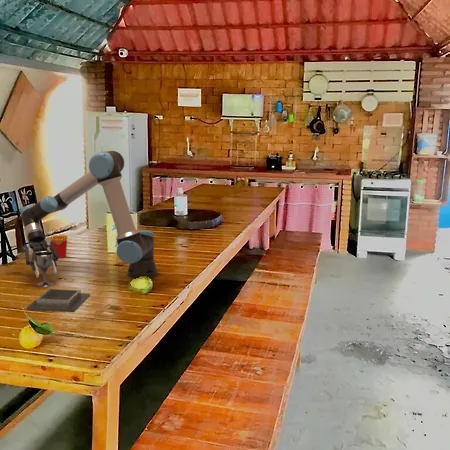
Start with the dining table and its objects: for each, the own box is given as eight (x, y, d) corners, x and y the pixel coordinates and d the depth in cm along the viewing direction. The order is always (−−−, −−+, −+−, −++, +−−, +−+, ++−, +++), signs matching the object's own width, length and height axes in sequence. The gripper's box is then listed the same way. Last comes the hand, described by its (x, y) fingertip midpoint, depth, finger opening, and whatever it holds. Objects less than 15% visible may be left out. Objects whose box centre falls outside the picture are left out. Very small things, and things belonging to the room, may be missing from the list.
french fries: (50, 258, 289) (49, 235, 286) (52, 256, 293) (51, 234, 290) (67, 258, 290) (66, 235, 288) (68, 256, 295) (68, 233, 292)
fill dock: (89, 295, 231) (89, 288, 230) (74, 311, 211) (73, 303, 211) (46, 293, 232) (46, 286, 231) (26, 309, 213) (26, 301, 212)
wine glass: (35, 287, 240) (33, 256, 237) (36, 281, 248) (35, 251, 245) (53, 286, 242) (52, 255, 239) (54, 280, 250) (52, 251, 247)
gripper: (54, 236, 259) (66, 275, 250) (11, 241, 247) (23, 282, 238) (57, 227, 254) (70, 267, 245) (14, 232, 242) (25, 274, 233)
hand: (46, 274), depth 241 cm, fingers closed on wine glass, 7 cm apart
